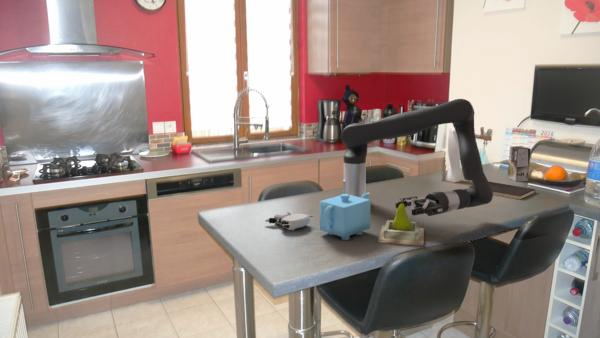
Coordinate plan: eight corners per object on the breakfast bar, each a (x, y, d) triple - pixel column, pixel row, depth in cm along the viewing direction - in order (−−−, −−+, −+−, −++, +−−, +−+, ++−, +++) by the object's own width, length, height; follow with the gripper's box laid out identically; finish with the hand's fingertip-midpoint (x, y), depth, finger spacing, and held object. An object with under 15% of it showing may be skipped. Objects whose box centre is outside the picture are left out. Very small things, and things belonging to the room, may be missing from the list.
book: (519, 200, 189) (520, 195, 189) (468, 191, 206) (468, 186, 206) (535, 193, 200) (535, 188, 199) (484, 185, 216) (485, 180, 216)
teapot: (338, 245, 144) (337, 203, 141) (314, 236, 152) (313, 197, 149) (381, 228, 158) (381, 190, 155) (357, 221, 166) (357, 185, 163)
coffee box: (528, 181, 220) (531, 148, 216) (515, 181, 220) (517, 149, 217) (519, 177, 229) (522, 145, 225) (507, 177, 229) (509, 146, 226)
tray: (378, 242, 145) (378, 231, 145) (382, 227, 158) (382, 218, 158) (423, 245, 141) (423, 235, 141) (423, 230, 155) (424, 221, 154)
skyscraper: (449, 178, 230) (452, 124, 224) (464, 181, 224) (468, 125, 218) (441, 181, 225) (443, 125, 219) (456, 184, 219) (459, 126, 213)
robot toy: (263, 228, 164) (291, 235, 153) (262, 216, 163) (290, 222, 152) (287, 220, 172) (316, 226, 162) (286, 208, 172) (315, 213, 161)
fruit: (411, 237, 146) (412, 201, 144) (391, 235, 148) (392, 200, 145) (410, 230, 152) (411, 196, 150) (392, 229, 154) (392, 195, 151)
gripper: (428, 187, 160) (391, 192, 154) (457, 196, 148) (418, 203, 141) (427, 207, 162) (390, 213, 155) (456, 218, 149) (417, 225, 143)
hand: (404, 208), depth 148 cm, fingers open, 8 cm apart
